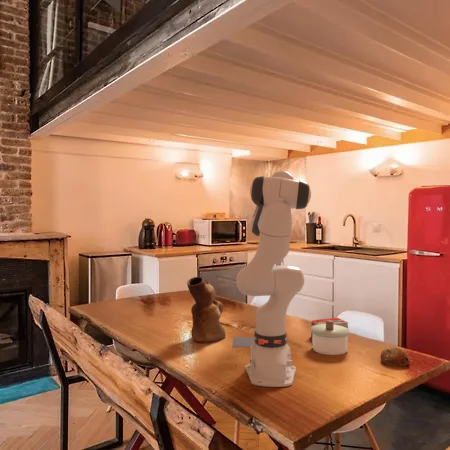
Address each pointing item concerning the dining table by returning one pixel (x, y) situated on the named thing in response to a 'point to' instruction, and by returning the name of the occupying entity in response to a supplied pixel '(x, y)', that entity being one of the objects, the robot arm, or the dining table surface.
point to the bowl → (330, 345)
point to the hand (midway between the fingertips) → (278, 269)
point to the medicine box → (336, 320)
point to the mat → (243, 342)
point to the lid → (329, 330)
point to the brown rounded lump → (394, 356)
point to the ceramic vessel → (205, 312)
